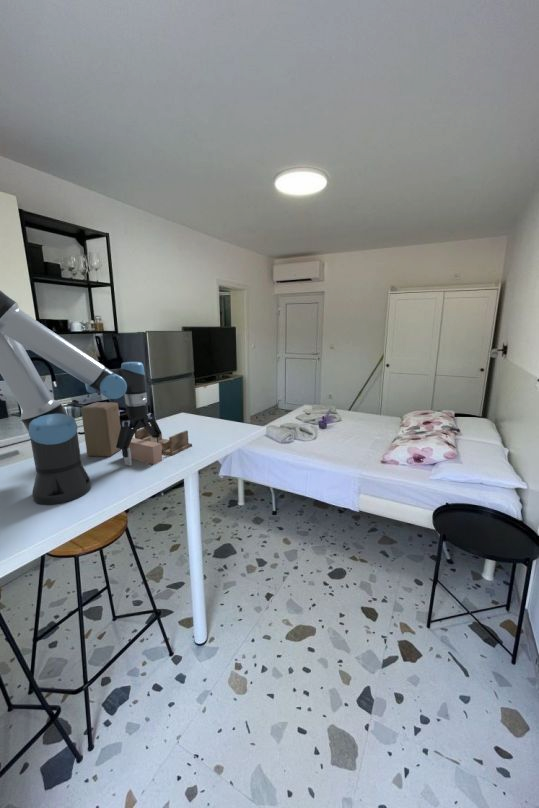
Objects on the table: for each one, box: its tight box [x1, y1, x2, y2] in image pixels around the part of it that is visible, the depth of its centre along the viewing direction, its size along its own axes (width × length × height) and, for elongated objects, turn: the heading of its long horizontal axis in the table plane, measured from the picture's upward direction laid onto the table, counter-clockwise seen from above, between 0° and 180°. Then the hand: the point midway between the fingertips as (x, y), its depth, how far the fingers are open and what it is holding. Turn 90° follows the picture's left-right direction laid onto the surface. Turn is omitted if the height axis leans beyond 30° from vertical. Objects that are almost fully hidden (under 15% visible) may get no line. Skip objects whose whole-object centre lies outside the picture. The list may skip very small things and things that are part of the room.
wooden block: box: [80, 401, 122, 458], centre depth 132 cm, size 10×10×20 cm
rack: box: [134, 425, 193, 456], centre depth 140 cm, size 12×22×7 cm, turn 64°
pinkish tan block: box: [128, 437, 163, 466], centre depth 127 cm, size 4×16×7 cm, turn 62°
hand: (142, 458), depth 127 cm, fingers open, 12 cm apart
